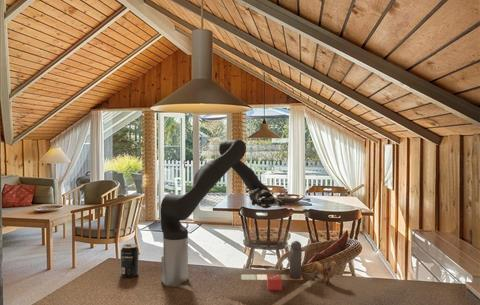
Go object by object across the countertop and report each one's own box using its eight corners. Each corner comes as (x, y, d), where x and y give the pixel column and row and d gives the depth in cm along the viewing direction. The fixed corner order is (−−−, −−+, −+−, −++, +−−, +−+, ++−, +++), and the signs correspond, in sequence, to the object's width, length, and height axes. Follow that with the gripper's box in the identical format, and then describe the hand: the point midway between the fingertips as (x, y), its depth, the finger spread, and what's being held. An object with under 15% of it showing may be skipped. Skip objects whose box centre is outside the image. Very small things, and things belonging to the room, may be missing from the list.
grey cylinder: (287, 277, 140) (288, 240, 140) (292, 274, 144) (294, 238, 144) (297, 279, 138) (298, 243, 137) (302, 276, 141) (304, 240, 141)
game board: (235, 286, 135) (235, 282, 135) (235, 275, 147) (235, 271, 147) (311, 286, 135) (311, 283, 135) (305, 275, 147) (305, 272, 147)
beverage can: (131, 271, 150) (131, 242, 150) (141, 274, 146) (142, 245, 146) (116, 276, 144) (117, 246, 144) (127, 279, 140) (127, 248, 140)
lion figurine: (341, 285, 136) (341, 261, 136) (332, 288, 133) (332, 264, 133) (312, 274, 148) (312, 252, 148) (302, 277, 145) (303, 254, 145)
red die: (267, 293, 128) (268, 279, 128) (266, 288, 133) (266, 274, 133) (282, 293, 128) (282, 279, 128) (280, 288, 133) (280, 274, 133)
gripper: (249, 190, 167) (253, 195, 151) (280, 190, 169) (287, 195, 152) (249, 206, 167) (253, 213, 151) (279, 206, 169) (287, 212, 153)
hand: (270, 204), depth 152 cm, fingers open, 8 cm apart
